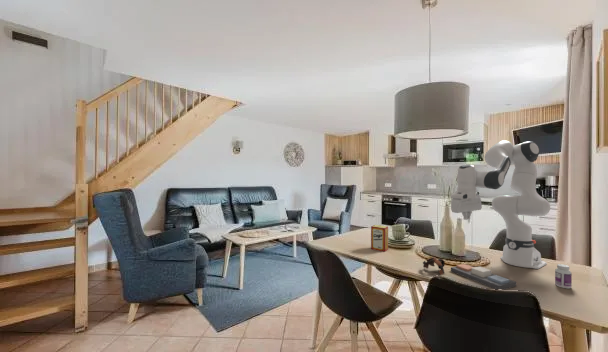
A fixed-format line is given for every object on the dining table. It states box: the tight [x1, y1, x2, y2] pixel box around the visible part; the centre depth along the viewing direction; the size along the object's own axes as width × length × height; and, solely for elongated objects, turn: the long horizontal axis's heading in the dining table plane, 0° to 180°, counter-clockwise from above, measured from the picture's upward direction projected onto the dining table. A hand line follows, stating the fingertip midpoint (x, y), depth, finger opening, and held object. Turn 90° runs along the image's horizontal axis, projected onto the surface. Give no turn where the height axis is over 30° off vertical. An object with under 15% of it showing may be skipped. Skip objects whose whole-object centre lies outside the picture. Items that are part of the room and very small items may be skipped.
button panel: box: [450, 265, 517, 290], centre depth 127 cm, size 12×24×2 cm, turn 22°
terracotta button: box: [456, 263, 475, 272], centre depth 135 cm, size 6×6×3 cm
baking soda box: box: [370, 224, 389, 252], centre depth 175 cm, size 10×6×16 cm
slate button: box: [488, 274, 509, 284], centre depth 120 cm, size 6×6×3 cm
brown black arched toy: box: [422, 257, 446, 276], centre depth 137 cm, size 12×10×8 cm
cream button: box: [472, 266, 492, 278], centre depth 127 cm, size 6×6×3 cm
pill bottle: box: [554, 263, 573, 289], centre depth 118 cm, size 5×5×10 cm
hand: (466, 219), depth 141 cm, fingers closed
